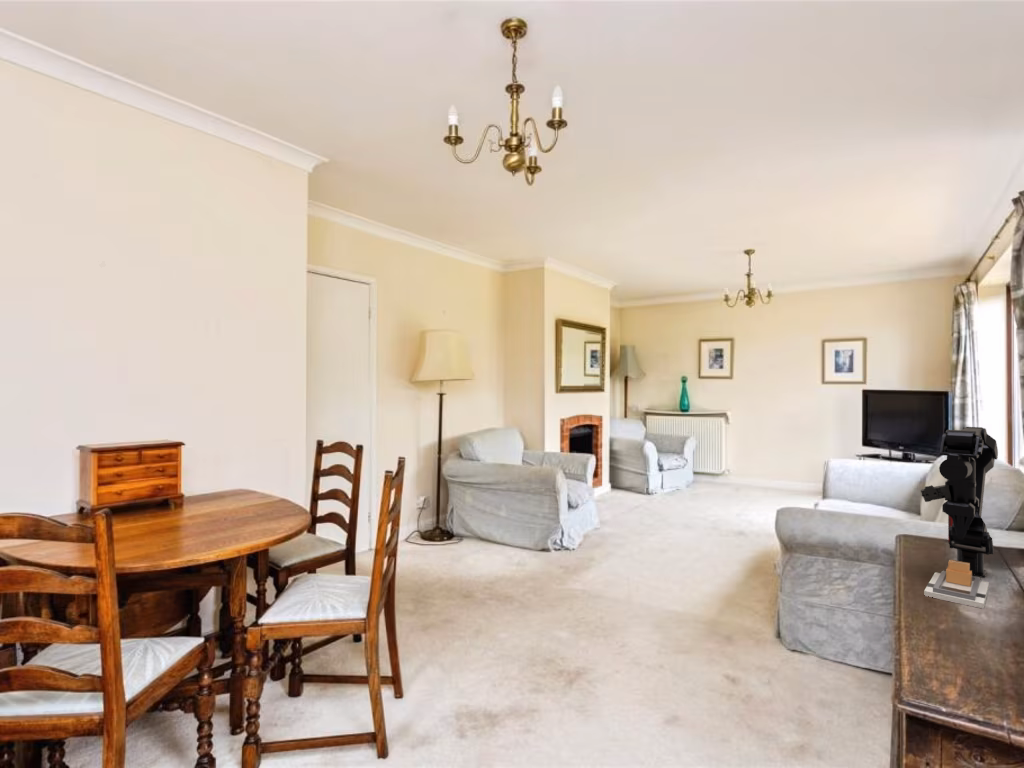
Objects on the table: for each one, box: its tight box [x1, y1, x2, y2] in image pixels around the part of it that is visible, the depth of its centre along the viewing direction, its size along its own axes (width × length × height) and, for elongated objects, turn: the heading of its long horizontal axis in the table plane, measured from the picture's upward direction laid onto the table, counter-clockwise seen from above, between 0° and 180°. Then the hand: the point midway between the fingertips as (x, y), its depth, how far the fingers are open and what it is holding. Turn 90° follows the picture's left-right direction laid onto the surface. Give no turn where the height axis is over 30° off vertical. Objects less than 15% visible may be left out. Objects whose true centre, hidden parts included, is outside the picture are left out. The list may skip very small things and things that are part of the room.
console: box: [923, 570, 990, 609], centre depth 136 cm, size 20×11×2 cm, turn 136°
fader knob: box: [945, 559, 973, 586], centre depth 139 cm, size 4×5×5 cm
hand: (961, 536), depth 143 cm, fingers open, 5 cm apart
